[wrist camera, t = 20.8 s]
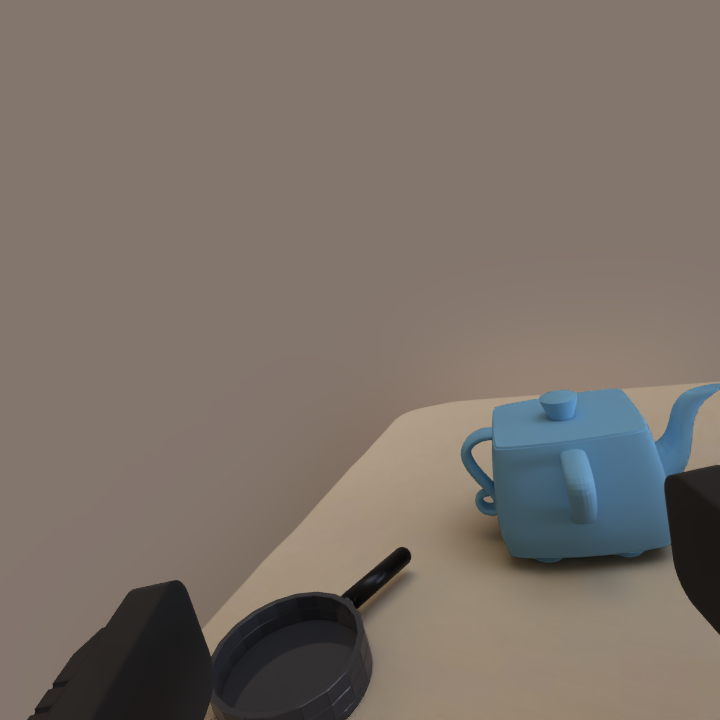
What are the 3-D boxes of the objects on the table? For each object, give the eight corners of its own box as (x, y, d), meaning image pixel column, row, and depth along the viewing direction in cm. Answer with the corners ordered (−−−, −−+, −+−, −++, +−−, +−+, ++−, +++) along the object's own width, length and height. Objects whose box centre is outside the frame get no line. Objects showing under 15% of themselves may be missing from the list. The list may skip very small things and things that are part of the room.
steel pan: (277, 791, 32) (263, 752, 32) (190, 700, 41) (177, 668, 41) (404, 657, 40) (395, 623, 39) (308, 604, 49) (299, 576, 48)
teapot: (587, 622, 39) (557, 455, 36) (456, 534, 54) (427, 410, 51) (739, 518, 46) (725, 370, 43) (586, 465, 61) (567, 352, 58)
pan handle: (349, 621, 43) (344, 604, 43) (336, 614, 44) (332, 598, 44) (416, 561, 49) (412, 546, 48) (403, 556, 50) (399, 541, 50)
